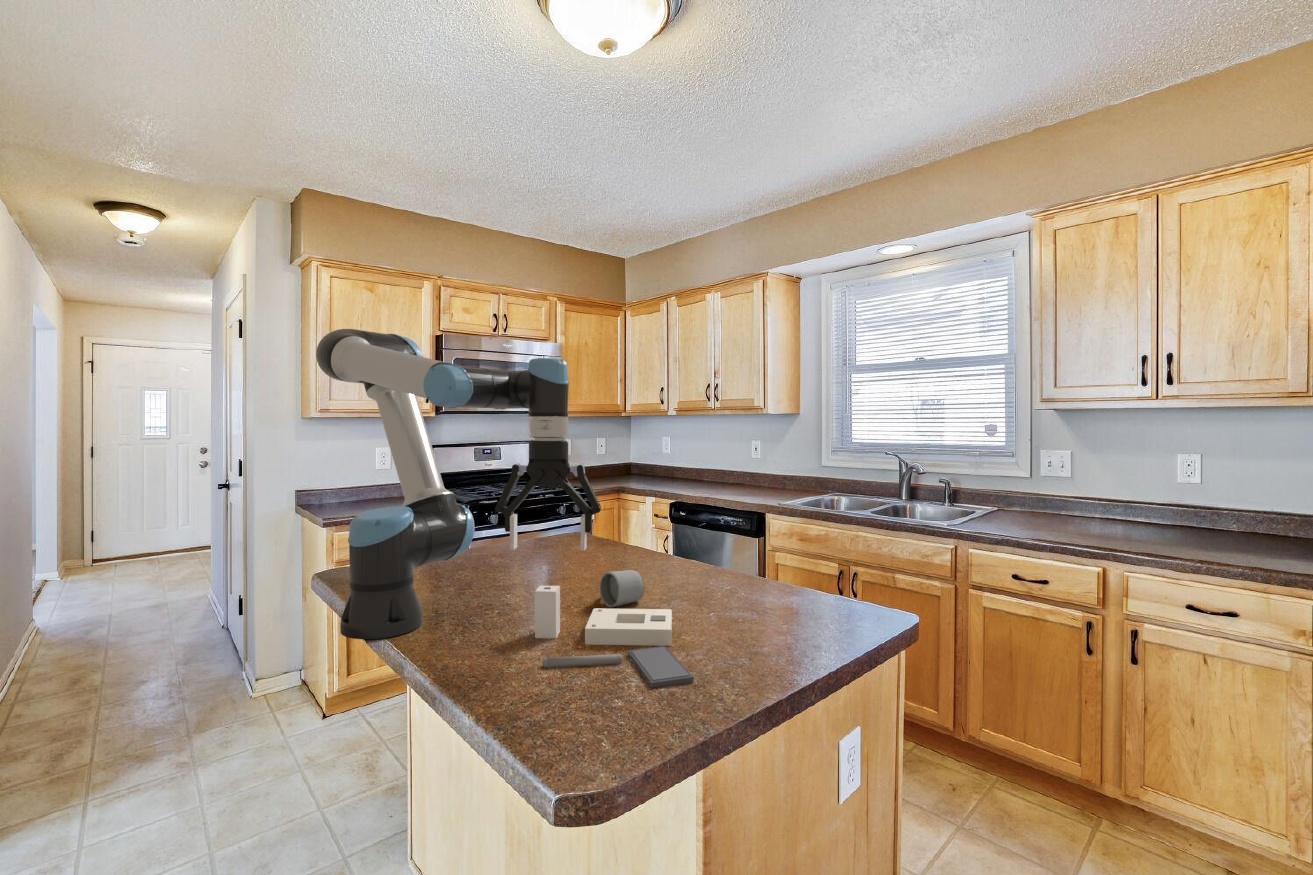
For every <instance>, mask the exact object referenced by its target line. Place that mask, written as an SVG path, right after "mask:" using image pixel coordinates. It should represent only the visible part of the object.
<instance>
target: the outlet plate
mask: <svg viewBox="0 0 1313 875" xmlns="http://www.w3.org/2000/svg"><path fill="white" fill-rule="evenodd" d="M672 628H673V609H671V608H670V609H669V608H665V609H664V608H662V609H661V608H597V607H596V608H593V609H592V612H591V614H590V615H589V618H588V621H587V623H586V625H585V628H584V645H587V646H589V645H590V646H591V645H593V646H596V645H598V646H654V647H660V646H666V647H671V646H672V639H673V638H672V636H673V635H672V633H673V632H672V631H673V629H672Z"/></svg>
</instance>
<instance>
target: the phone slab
mask: <svg viewBox="0 0 1313 875" xmlns="http://www.w3.org/2000/svg"><path fill="white" fill-rule="evenodd" d="M627 656H628V657H629V659H631V661H632V663H633V664H634V665H635V667H636V668H637V670H638V671H639V672H640V674H641V675H642V677H643V678H644V680H645V681H646V682H647V684H648V685H649V687H650V688H651V689H654V688H662V687H666V686H667V687H668V686H675V685H682V684H689V683H694V680H695V678H694V676H693V674H691V672H690V671H689V670H688V669H687V667H685V666H684V665H683V663H681V662H680V660H679V659H678V658H677V657H676V656H675V654H673V653H672V652H671V651H670V650H669V648H668V646H654V647H645V648H636V649H628V650H627Z"/></svg>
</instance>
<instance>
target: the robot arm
mask: <svg viewBox="0 0 1313 875" xmlns="http://www.w3.org/2000/svg"><path fill="white" fill-rule="evenodd" d="M315 351H316V352H315V356H316V357H315V358H316V361H317V365H318V367H319V369H320V370H321V371H322V372H323V373H324V374H325V375H327V376H328V377H330V378H332V379H333V380H336V381H340V382H346V383H353V384H354V383H357V384H363V387H364V389H365V393H366V396H367V397H368V398H369V399H371V400H372V401H375V402H376V404H377V408H378V411H379V415H380V419H381V421H382V425H383V429H384V432H385V436H386V438H387V442H388V446H389V449H390V453H391V456H392V460H393V463H394V467H395V470H396V474H397V477H398V480H399V484H400V487H401V490H402V494H403V497H404V502H402V505H398V506H395V505H394V506H387V507H380V508H374V509H369V510H366V511H363V512H361V513H359V514H357V515H355V516H354V517H353V518H352V519H351V521H350V523H349V530H348V531H349V532H348V538H347V542H348V545H349V546H348V548H349V550H348V551H349V552H348V553H349V594H348V596H347V600H346V602H345V603H346V604H345V606H344V609H343V612H342V615H341V617H340V622H339V623H340V634H341V635H342V636H343V637H344V638H349V639H353V640H376V639H377V640H378V639H386V638H392V637H396V636H400V635H404V634H407V633H410V632H413V631H415V630H417V629H418V628H420V627H421V626H422V625H423V622H424V611H423V607H422V604H421V602H420V599H419V597H418V596H419V595H418V594H417V592H416V588H415V585H414V568H416V567H417V568H418V567H421V566H425V565H429V564H433V563H436V562H441V561H449V560H450V559H452V558H455V557H458V556H460V555H462V554H464V553H465V552H466V551H468V549H469V548H470V547H471V544H472V540H473V539H474V537H475V532H476V531H475V529H476V528H475V526H476V525H475V520H474V516H473V514H472V512H471V511H470V509H469V508H468V507H467V506H465V505H463V504H460V503H457V499H456V497H455V494H454V492H453V491H452V490H451V491H450V490H449V489H446V488H445V486H444V481H443V479H442V475H441V471H440V467H439V465H438V462H437V458H436V455H435V452H434V449H433V446H432V442H431V438H430V435H429V432H428V429H427V425H426V422H425V420H424V416H423V413H422V410H421V406H420V402H419V400H418V397H420V398H424V399H427V400H429V402H430V404H432V405H433V406H436V407H443V408H448V409H456V408H473V409H474V408H477V409H493V410H508V409H509V410H510V409H512V410H513V409H528V437H529V438H531V440H529V442H528V463H527V465H524V464H520V463H515V464H513V465H512V466H511V473H510V477H509V479H508V481H507V483H506V485H505V487H504V488H503V491H502V493H501V495H500V497H499V498H498V501H497V503H496V504H495V507H494V511H495V512H496V513H500V514H503V515H504V530H505V533H509V550H510V551H515V550H516V549H517V548H518V513H514V512H515V511H516V510H517V508H518V507H519V506H520V505H521V504H522V503H523V501H524V500H525V499H526V498H527V496H528V495H530V493H531V492H532V491H533V490H534V488H536V487H537V488H539V489H545V488H550V489H556V488H559V487H560V488H561V489H562V490H563V491H564V492H565V493H566V494H567V495H568V497H569V498H570V499H571V500H572V501H573V502H574V504H575V505H576V507H577V508H579V510H580V511H581V512H582V513H583V514H582V515H581V516H580V551H581V552H582V551H584V552H585V550H586V549H587V533H589V534H590V533H591V531H592V529H593V515H596V514H598V513H600V512H601V510H602V506H601V504H600V502H599V499H598V497H597V496H596V493H595V491H594V490H593V487H592V486H591V483H590V482H589V479H588V477H587V474H586V467H585V465H584V464H583V463H580V464H579V465H578V464H577V465H570V463H569V442H568V440H566V439H567V438H568V437H569V412H568V409H569V386H570V381H569V380H570V379H569V368H568V363H567V361H565V360H564V359H561V358H552V357H551V358H550V357H540V358H539V357H538V358H532V359H530V360H529V361H528V368H527V369H526V370H502V369H493V368H483V367H479V368H478V367H473V366H472V367H471V366H465V365H458V364H456V363H455V364H454V363H451V362H446V361H442V360H436V359H432V358H429V357H424V354H423V352H422V350H421V348H420V346H419V345H418V344H417V342H415V341H414V340H412V339H410V338H408V337H405V336H402V335H399V334H397V333H380V332H374V331H367V330H362V329H361V330H359V329H357V328H356V329H354V328H340V329H336V330H333V331H331V332H328V333H327V334H325V335H324V336H323V337H322V338H321V339H320V341H319V343H318V344H317V347H316V350H315ZM525 472H526V473H527V475H528V477H529V478H530V479H529V481H528V482H527V484H526V485H525V486H524V488H523V489H522V490H521V491H520V492H519V493H518V494H517V496H515V498H514V499H513V501H512V502H511V503H510V504H509V505H507V504H508V502H509V499H510V498H511V497H512V496H511V495H512V493H513V491H514V489H515V487H516V485H517V484H518V482H519V479H520V477H521V476H523V475H524V474H525ZM570 473H573V475H574V476H575V477H577V479H578V481H579V483H580V485H581V488H582V489H583V492H584V494H585V496H586V497H587V499H588V501H589V503H590V506H591V507H590V506H589V504H588V503H587V502H586V501H585V500H584V498H583V497H582V496H581V495H580V494H579V493H578V491H577V490H576V489H575V488H574V486H573V485H572V484H571V482H570V481H569V480H568V476H569V475H570ZM506 505H507V506H506Z"/></svg>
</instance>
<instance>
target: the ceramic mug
mask: <svg viewBox="0 0 1313 875" xmlns="http://www.w3.org/2000/svg"><path fill="white" fill-rule="evenodd" d="M645 584H646V583H645V580H644V578H643V575H642V573H640V572H639V571H637V570H632V569H626V570H618V571H617V570H615V571H608V572H605V573H604V574H603V575H602V576H601V579H600V582H599V593H600V594H599V595H600V597H601V600H602V602H603V603H604V604H605V606H606V607H608V608H615V607H619V606H623V605H624V606H625V605H628V604H632V603H635V602H638V601H639V600H641V599H642V598H643V596H644V594H645V591H646V585H645Z"/></svg>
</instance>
